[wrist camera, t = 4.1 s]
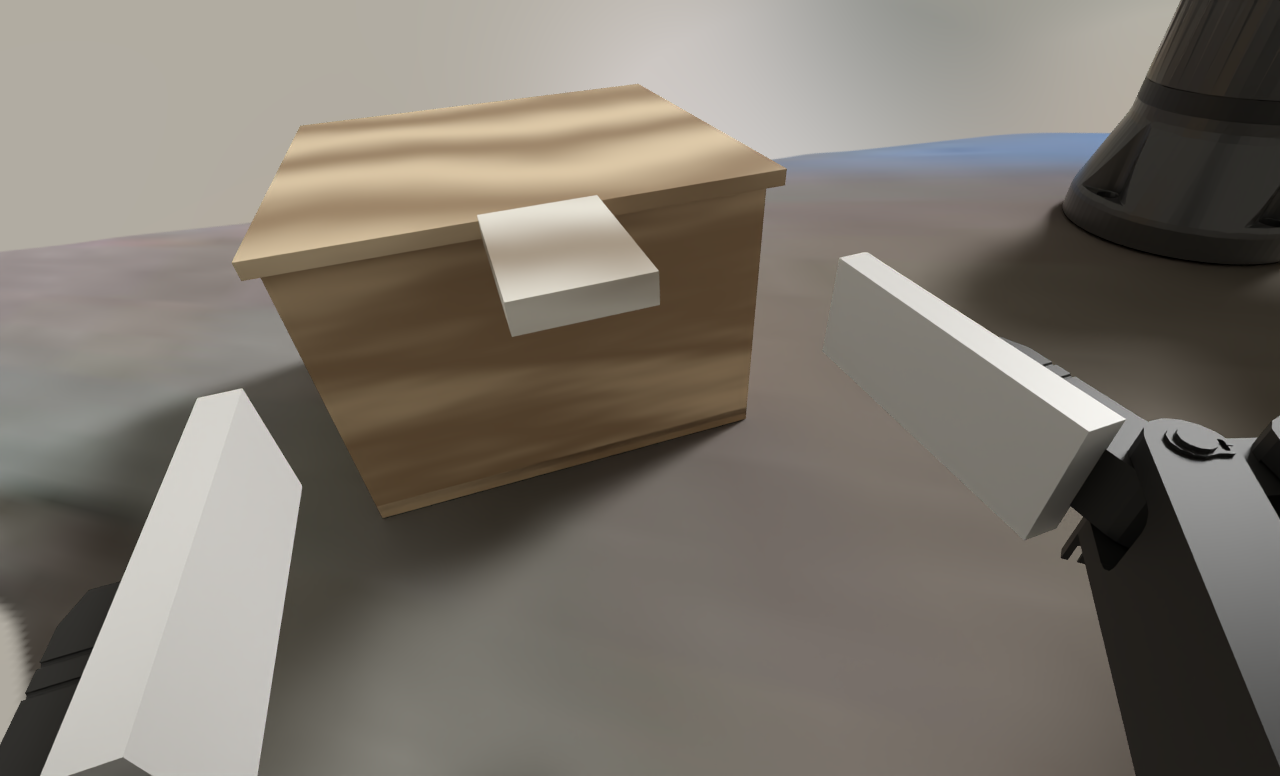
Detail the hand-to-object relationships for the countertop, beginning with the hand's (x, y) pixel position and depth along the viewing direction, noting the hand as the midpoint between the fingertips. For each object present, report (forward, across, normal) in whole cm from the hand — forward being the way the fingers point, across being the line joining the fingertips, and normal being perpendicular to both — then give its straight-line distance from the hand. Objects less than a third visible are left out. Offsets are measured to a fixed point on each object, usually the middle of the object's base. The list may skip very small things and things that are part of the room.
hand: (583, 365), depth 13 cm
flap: (+14, +1, 0) cm, 14 cm away
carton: (+17, +1, -12) cm, 21 cm away
